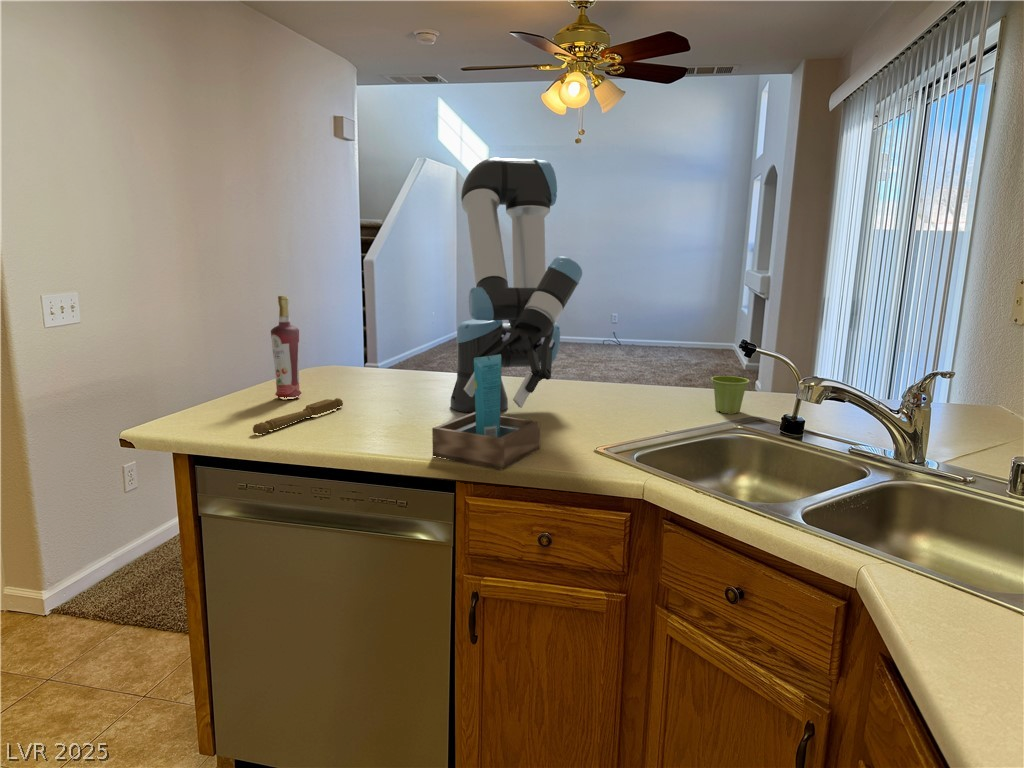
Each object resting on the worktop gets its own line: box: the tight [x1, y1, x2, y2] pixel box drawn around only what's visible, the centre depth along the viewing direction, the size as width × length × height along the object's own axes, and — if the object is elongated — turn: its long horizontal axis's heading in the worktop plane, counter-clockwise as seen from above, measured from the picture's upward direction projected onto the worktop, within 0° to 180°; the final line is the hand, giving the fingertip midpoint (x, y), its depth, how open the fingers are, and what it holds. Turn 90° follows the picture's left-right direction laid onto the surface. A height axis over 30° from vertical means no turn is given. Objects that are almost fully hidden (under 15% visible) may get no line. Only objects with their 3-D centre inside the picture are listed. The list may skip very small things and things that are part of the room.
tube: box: [474, 354, 502, 438], centre depth 137 cm, size 7×5×19 cm, turn 141°
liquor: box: [270, 295, 302, 398], centre depth 184 cm, size 7×7×28 cm
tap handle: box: [252, 397, 344, 434], centre depth 164 cm, size 3×3×30 cm
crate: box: [431, 412, 541, 471], centre depth 139 cm, size 16×16×6 cm
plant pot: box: [710, 375, 750, 415], centre depth 177 cm, size 9×9×9 cm
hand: (491, 398), depth 138 cm, fingers open, 13 cm apart
